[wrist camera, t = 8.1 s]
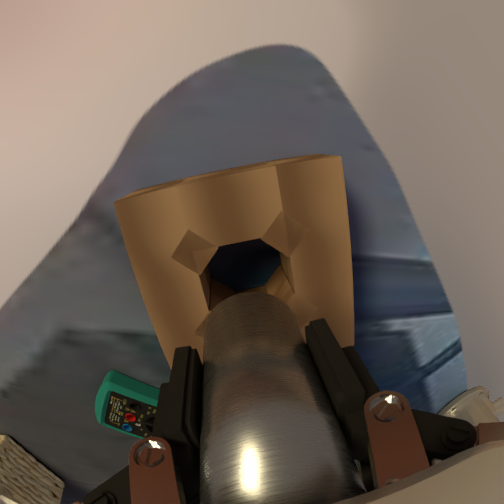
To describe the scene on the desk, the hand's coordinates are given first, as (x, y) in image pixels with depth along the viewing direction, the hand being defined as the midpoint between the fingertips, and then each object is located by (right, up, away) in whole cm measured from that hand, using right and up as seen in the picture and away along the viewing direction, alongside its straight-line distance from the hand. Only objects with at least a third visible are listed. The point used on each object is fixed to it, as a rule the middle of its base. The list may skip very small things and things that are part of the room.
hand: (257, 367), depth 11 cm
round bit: (0, +1, +2) cm, 2 cm away
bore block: (-1, +4, +12) cm, 13 cm away
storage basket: (-45, -34, +21) cm, 60 cm away
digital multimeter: (-9, -12, +18) cm, 23 cm away
